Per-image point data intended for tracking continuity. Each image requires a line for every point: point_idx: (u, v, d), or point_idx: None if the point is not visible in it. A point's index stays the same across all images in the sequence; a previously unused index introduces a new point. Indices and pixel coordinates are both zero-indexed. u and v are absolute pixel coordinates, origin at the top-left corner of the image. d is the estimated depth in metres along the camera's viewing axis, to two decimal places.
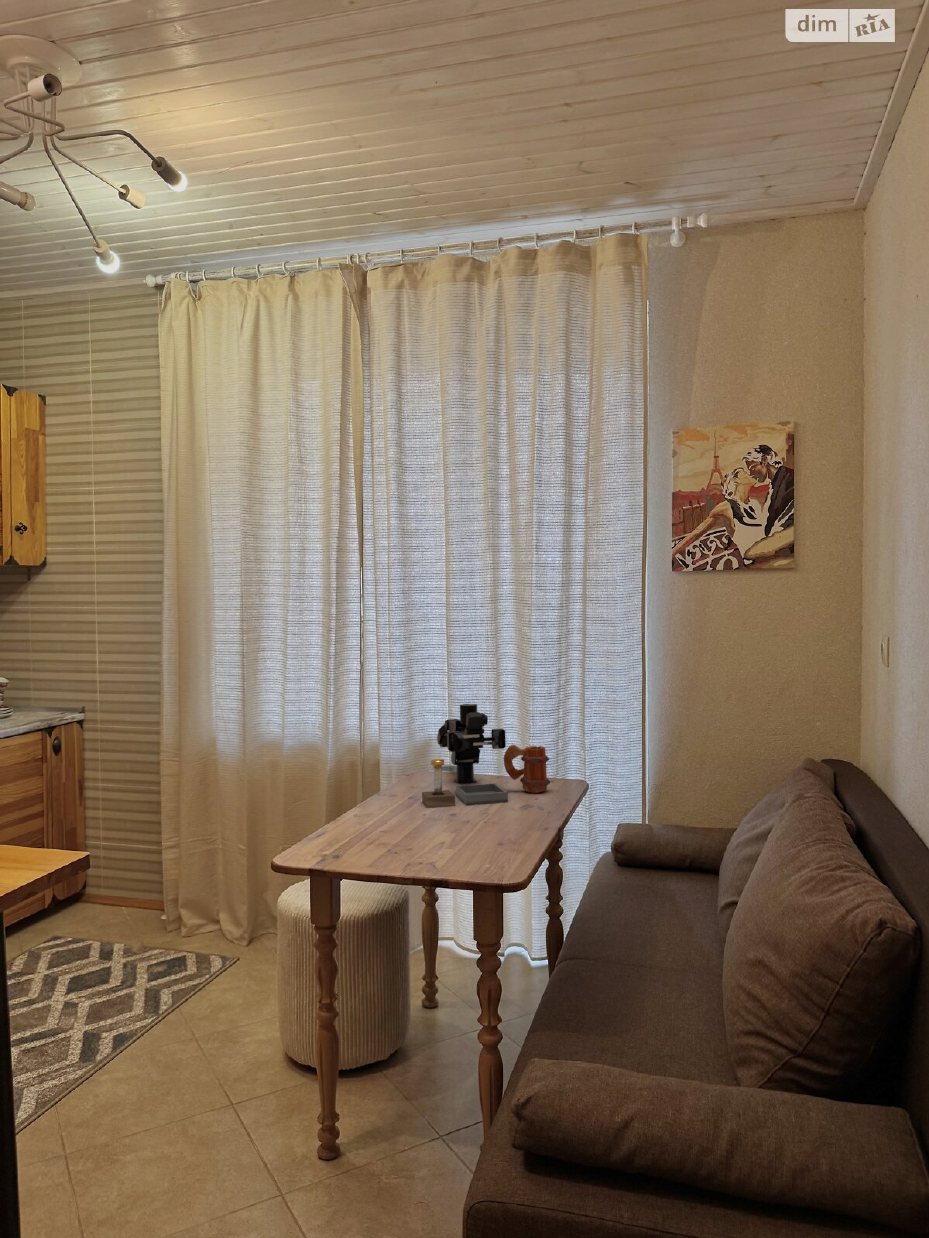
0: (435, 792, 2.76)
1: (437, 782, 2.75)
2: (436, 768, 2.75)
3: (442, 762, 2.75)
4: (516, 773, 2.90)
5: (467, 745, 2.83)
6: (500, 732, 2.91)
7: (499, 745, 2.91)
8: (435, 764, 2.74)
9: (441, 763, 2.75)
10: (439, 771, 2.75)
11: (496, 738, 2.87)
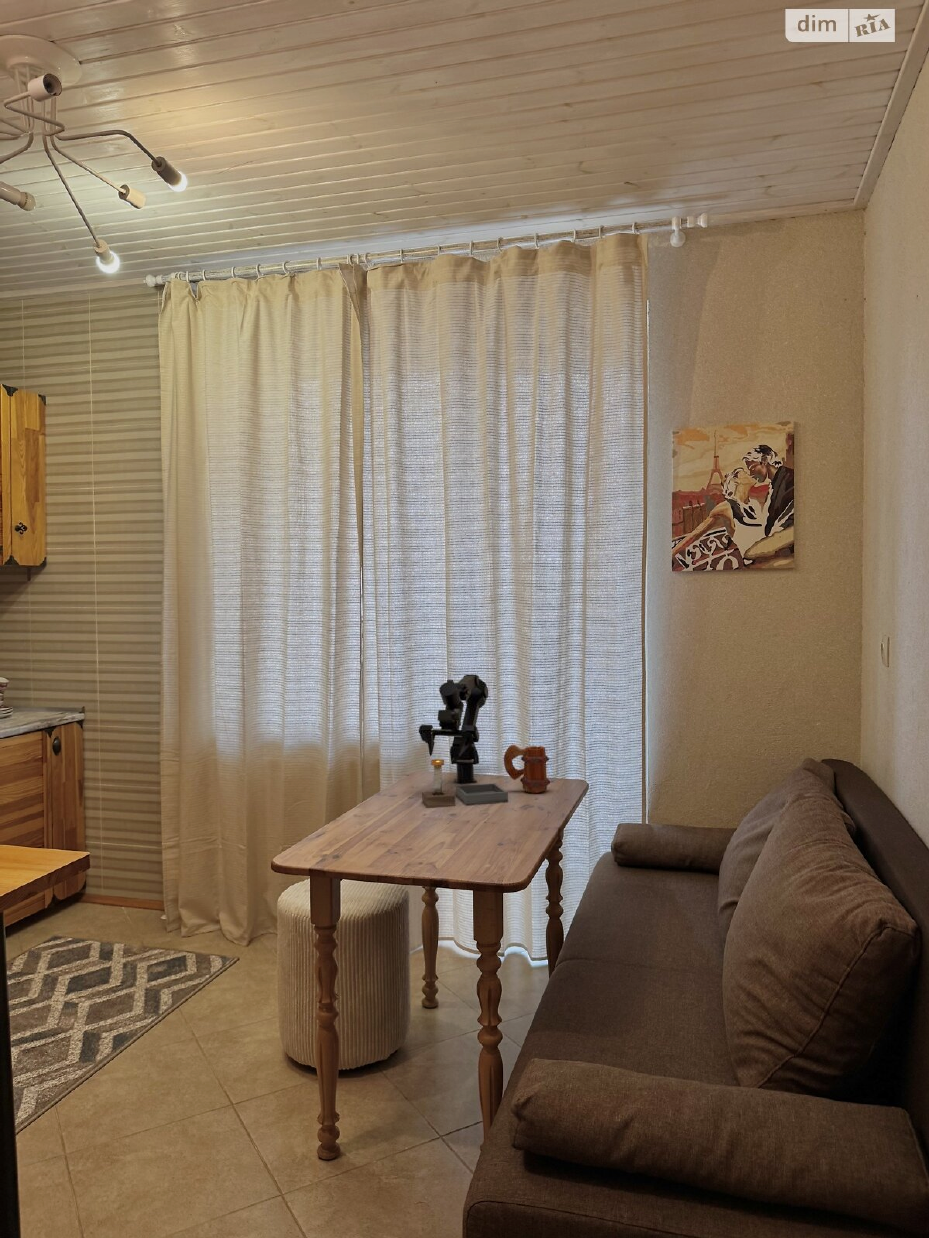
0: (435, 792, 2.76)
1: (437, 782, 2.75)
2: (436, 768, 2.75)
3: (442, 762, 2.75)
4: (516, 773, 2.90)
5: None
6: (469, 734, 2.85)
7: (470, 742, 2.88)
8: (435, 764, 2.74)
9: (441, 763, 2.75)
10: (439, 771, 2.75)
11: (461, 745, 2.84)
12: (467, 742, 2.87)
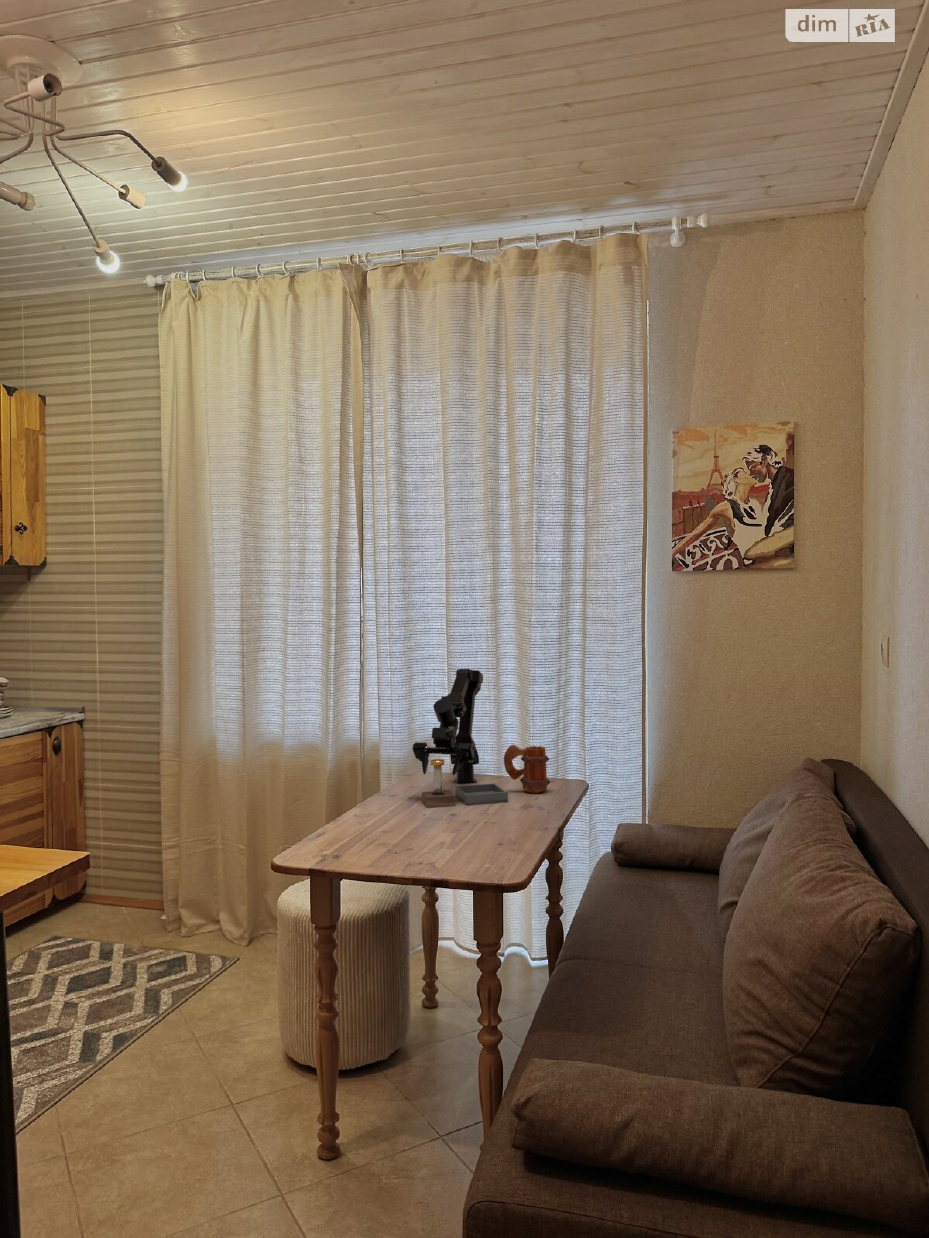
0: (435, 792, 2.76)
1: (437, 782, 2.75)
2: (436, 768, 2.75)
3: (442, 762, 2.75)
4: (516, 773, 2.90)
5: (423, 772, 2.79)
6: (464, 752, 2.78)
7: (465, 760, 2.81)
8: (435, 764, 2.74)
9: (441, 763, 2.75)
10: (439, 771, 2.75)
11: (455, 764, 2.77)
12: (462, 760, 2.80)
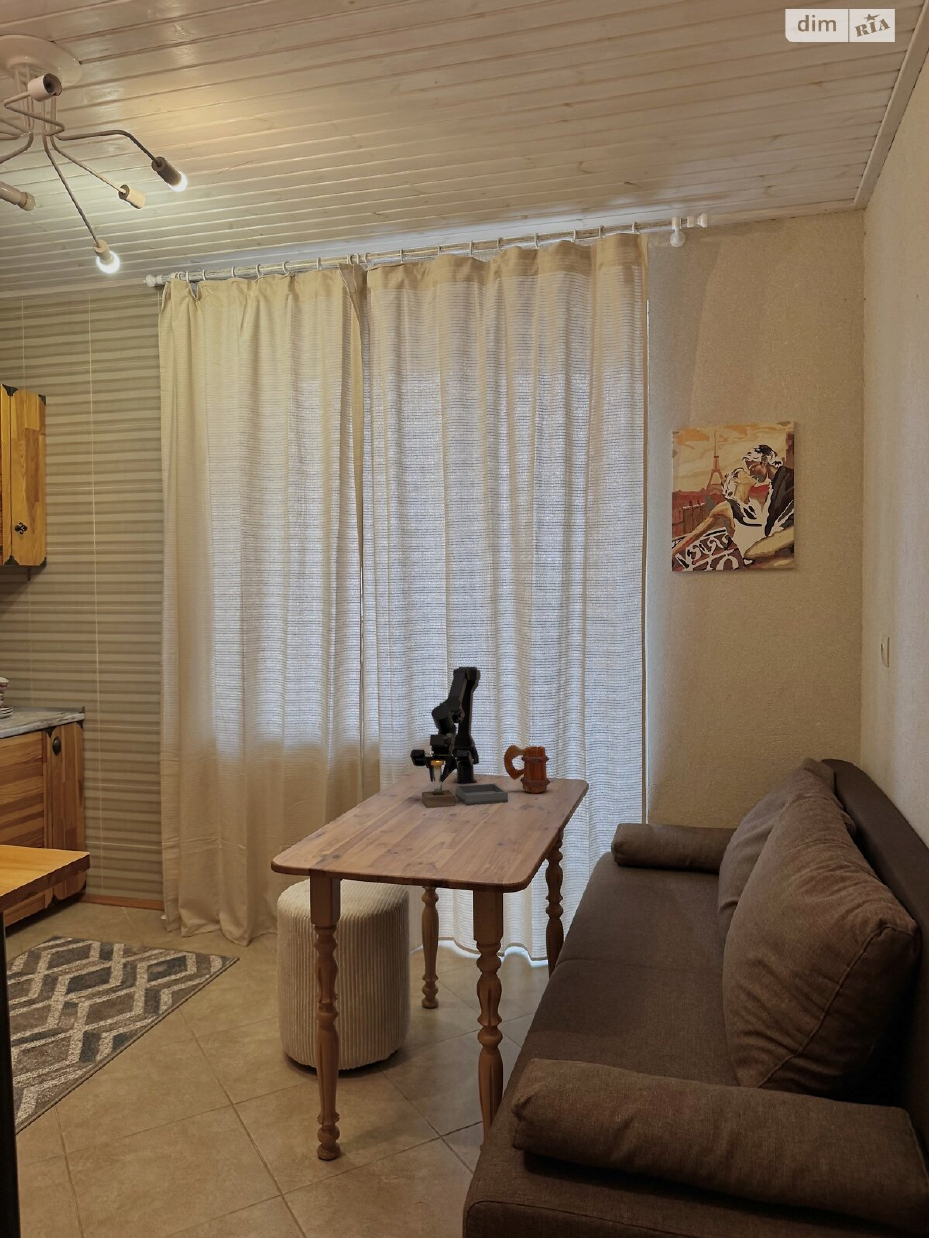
0: (435, 792, 2.76)
1: (437, 782, 2.75)
2: (436, 768, 2.75)
3: (442, 762, 2.75)
4: (516, 773, 2.90)
5: (431, 780, 2.76)
6: (453, 759, 2.77)
7: (454, 767, 2.80)
8: (435, 764, 2.74)
9: (441, 763, 2.75)
10: (439, 771, 2.75)
11: (444, 771, 2.76)
12: (451, 767, 2.79)
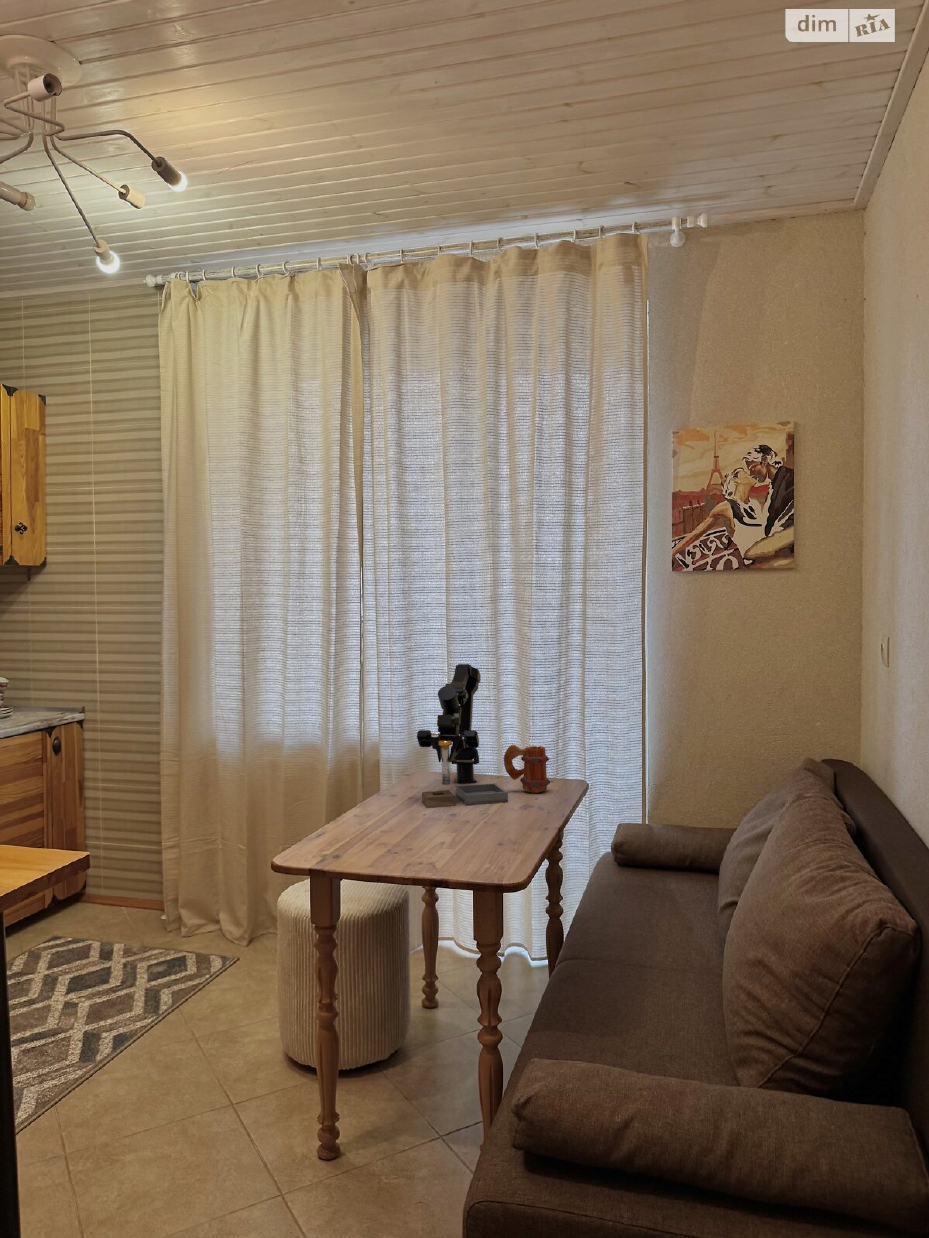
0: (443, 772, 2.76)
1: (445, 762, 2.75)
2: (444, 748, 2.75)
3: (450, 742, 2.75)
4: (516, 773, 2.90)
5: None
6: (460, 739, 2.77)
7: (461, 747, 2.80)
8: (443, 744, 2.75)
9: (449, 743, 2.75)
10: (447, 751, 2.76)
11: (452, 751, 2.76)
12: (458, 747, 2.80)
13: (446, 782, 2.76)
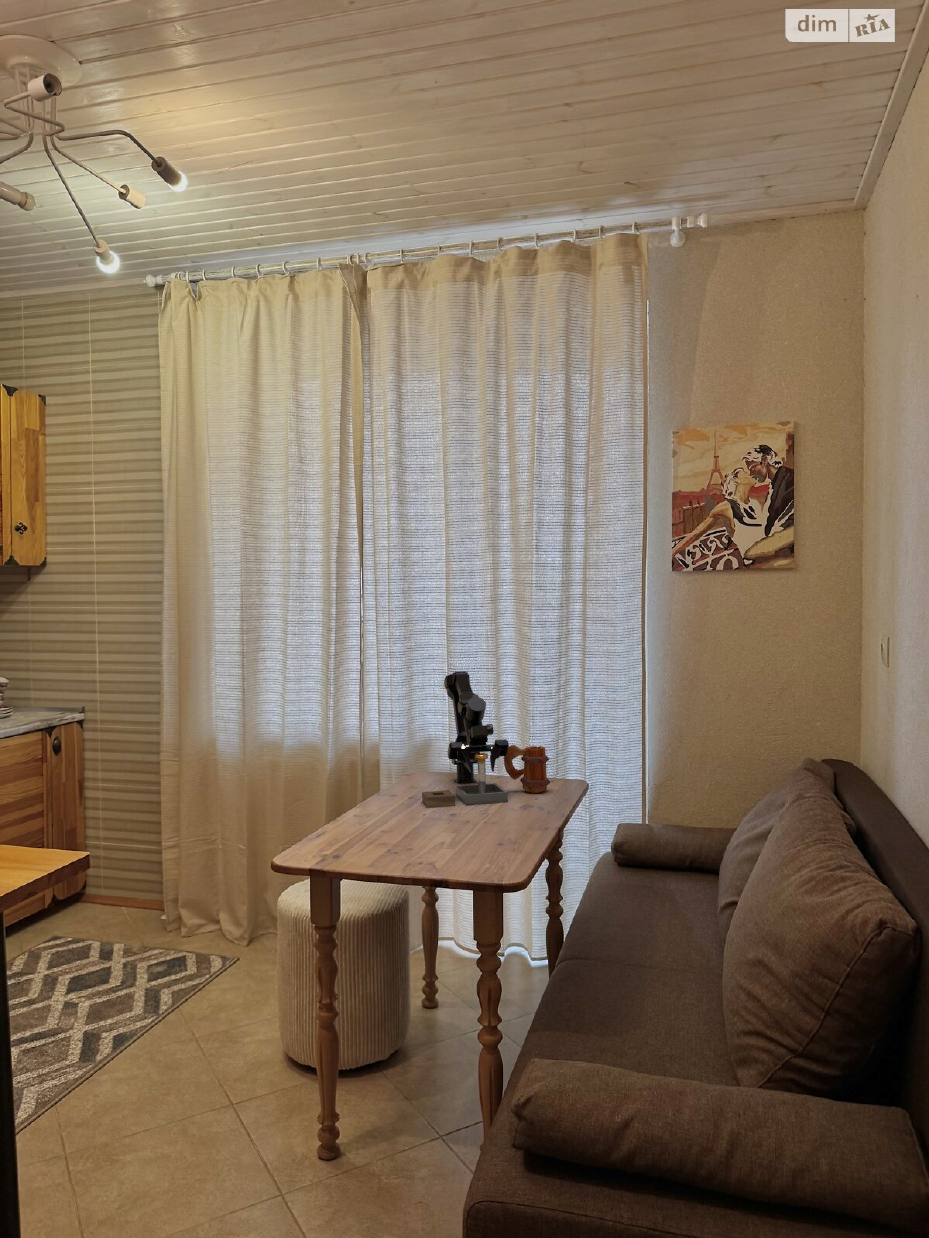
0: (480, 785, 2.80)
1: (483, 775, 2.80)
2: (482, 762, 2.79)
3: (487, 755, 2.80)
4: (516, 773, 2.90)
5: (470, 771, 2.79)
6: (499, 748, 2.83)
7: (496, 756, 2.86)
8: (482, 758, 2.79)
9: (487, 756, 2.80)
10: (484, 764, 2.80)
11: (493, 761, 2.81)
12: None
13: None
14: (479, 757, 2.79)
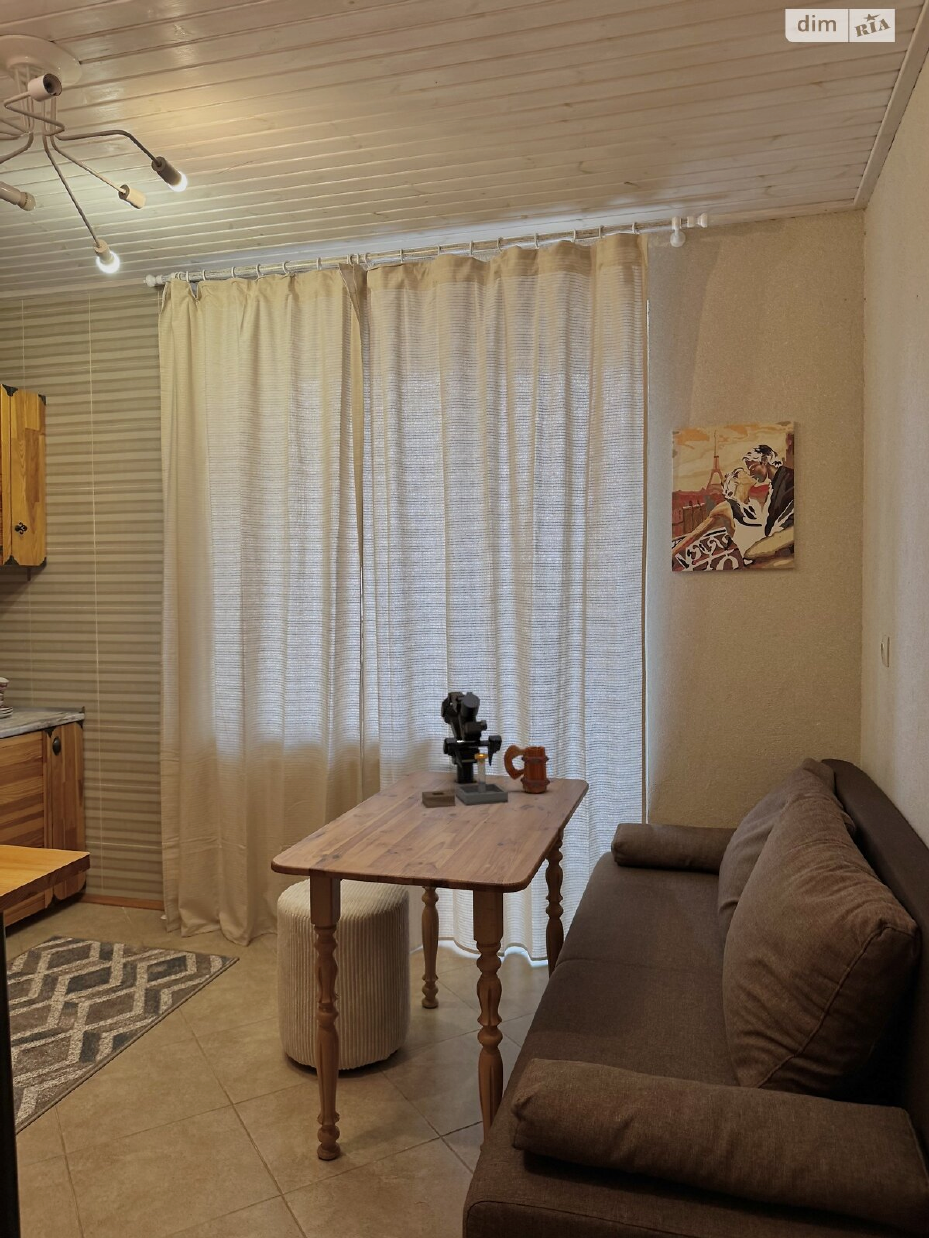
0: (480, 785, 2.80)
1: (482, 775, 2.80)
2: (482, 762, 2.80)
3: (487, 755, 2.80)
4: (516, 773, 2.90)
5: (461, 766, 2.88)
6: (497, 744, 2.93)
7: (493, 751, 2.96)
8: (482, 758, 2.79)
9: (487, 756, 2.80)
10: (484, 764, 2.80)
11: (491, 755, 2.91)
12: None
13: None
14: (479, 757, 2.79)
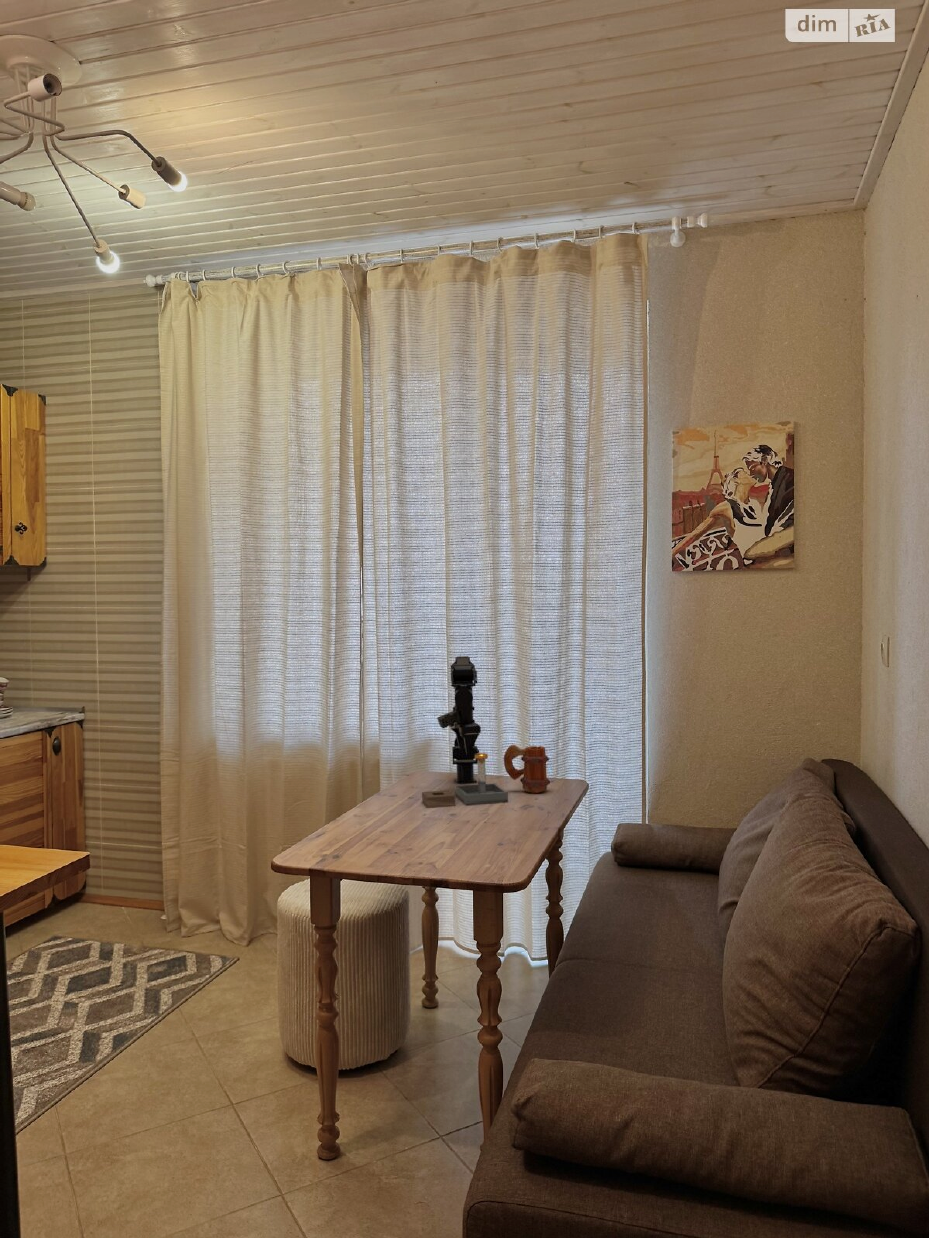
0: (480, 785, 2.80)
1: (482, 775, 2.80)
2: (482, 762, 2.79)
3: (487, 755, 2.80)
4: (516, 773, 2.90)
5: None
6: (463, 735, 2.83)
7: (475, 735, 2.84)
8: (482, 758, 2.79)
9: (487, 756, 2.80)
10: (484, 764, 2.80)
11: (465, 745, 2.85)
12: (473, 736, 2.85)
13: None
14: (479, 757, 2.79)
